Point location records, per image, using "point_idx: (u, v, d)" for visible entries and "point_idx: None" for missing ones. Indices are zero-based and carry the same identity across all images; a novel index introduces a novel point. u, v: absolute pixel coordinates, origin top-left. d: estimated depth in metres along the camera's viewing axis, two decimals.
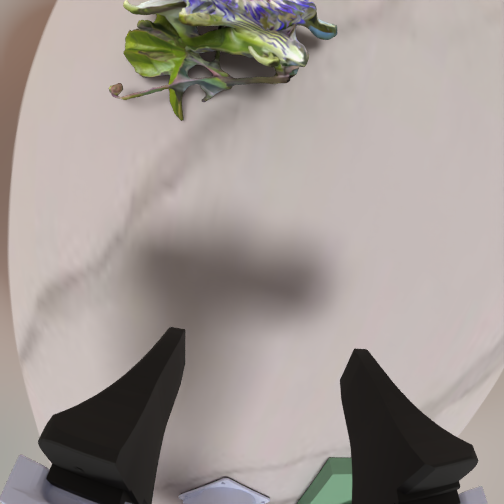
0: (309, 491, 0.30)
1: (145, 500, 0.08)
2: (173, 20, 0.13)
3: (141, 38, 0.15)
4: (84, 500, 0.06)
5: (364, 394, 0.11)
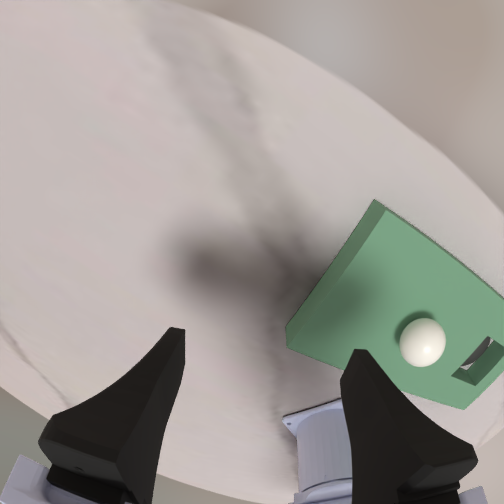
0: None
1: (145, 500, 0.08)
2: None
3: None
4: (84, 500, 0.06)
5: (364, 394, 0.11)
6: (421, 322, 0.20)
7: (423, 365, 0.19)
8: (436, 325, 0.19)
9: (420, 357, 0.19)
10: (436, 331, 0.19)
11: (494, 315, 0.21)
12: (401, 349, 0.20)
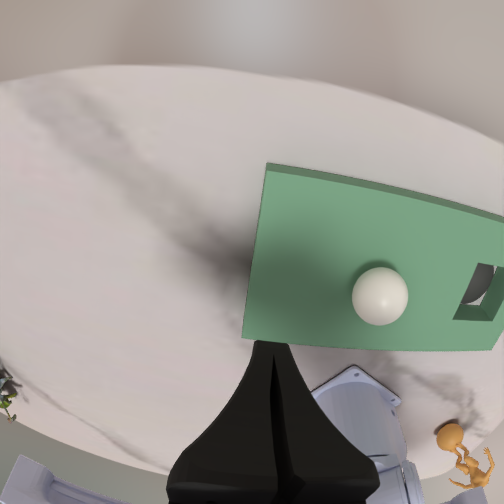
0: None
1: None
2: None
3: None
4: None
5: (273, 390, 0.11)
6: (366, 275, 0.18)
7: (385, 322, 0.18)
8: (385, 273, 0.18)
9: (374, 315, 0.17)
10: (384, 281, 0.17)
11: (475, 237, 0.18)
12: (355, 310, 0.19)
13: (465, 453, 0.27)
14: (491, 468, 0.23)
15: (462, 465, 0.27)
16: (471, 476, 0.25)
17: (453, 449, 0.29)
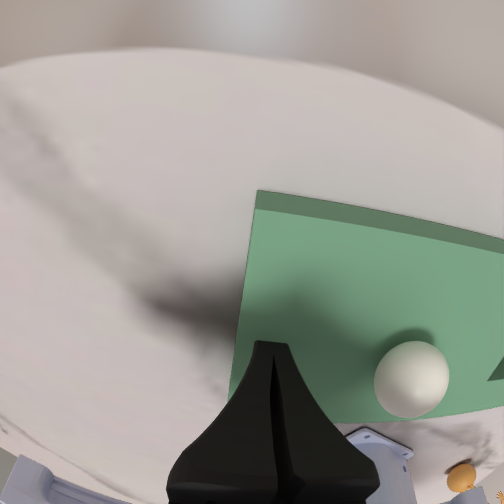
0: None
1: None
2: None
3: None
4: None
5: (273, 390, 0.11)
6: (397, 357, 0.12)
7: (416, 416, 0.11)
8: (423, 355, 0.11)
9: (403, 412, 0.11)
10: (423, 368, 0.11)
11: None
12: (377, 398, 0.13)
13: None
14: None
15: None
16: None
17: (464, 491, 0.23)
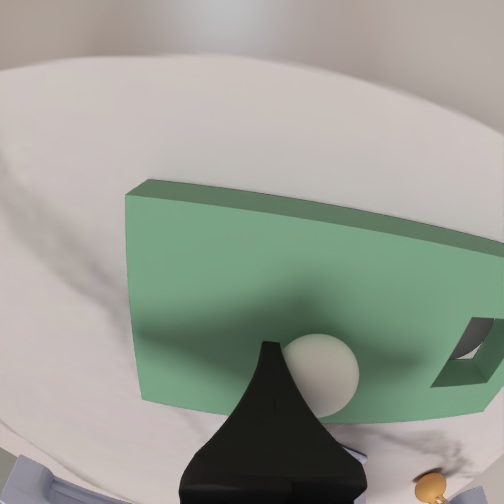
0: None
1: None
2: None
3: None
4: None
5: None
6: (291, 352, 0.12)
7: (325, 416, 0.11)
8: (320, 349, 0.11)
9: None
10: (319, 363, 0.11)
11: (470, 283, 0.12)
12: None
13: None
14: None
15: None
16: None
17: (433, 501, 0.23)
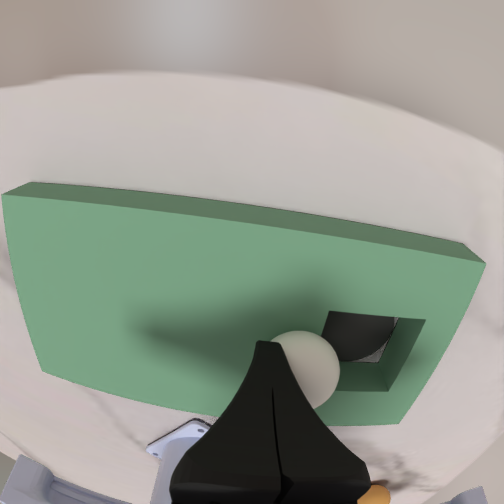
0: None
1: None
2: None
3: None
4: None
5: None
6: None
7: None
8: (311, 340, 0.12)
9: None
10: (300, 334, 0.13)
11: (310, 269, 0.13)
12: None
13: None
14: None
15: None
16: None
17: None
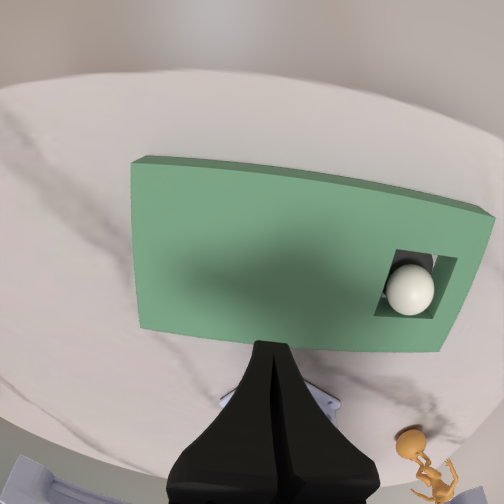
0: None
1: None
2: None
3: None
4: None
5: (273, 390, 0.11)
6: (408, 268, 0.20)
7: (416, 312, 0.19)
8: (423, 269, 0.20)
9: (413, 304, 0.19)
10: (425, 275, 0.19)
11: (385, 218, 0.18)
12: (391, 299, 0.20)
13: (426, 463, 0.27)
14: (454, 482, 0.22)
15: (423, 476, 0.26)
16: (433, 489, 0.24)
17: (414, 458, 0.29)
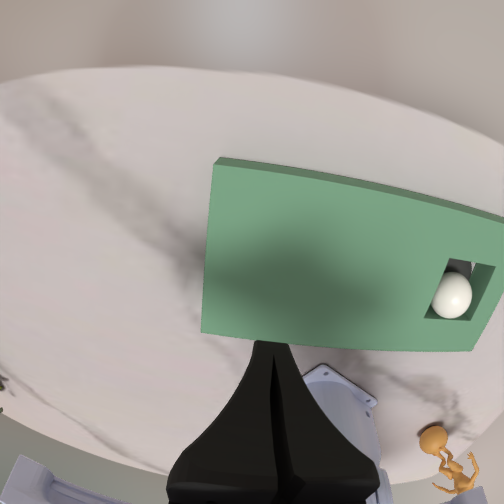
0: None
1: None
2: None
3: None
4: None
5: (273, 390, 0.11)
6: (451, 275, 0.20)
7: (453, 316, 0.20)
8: (464, 278, 0.20)
9: (452, 308, 0.20)
10: (465, 284, 0.20)
11: (444, 230, 0.18)
12: (433, 301, 0.21)
13: (449, 457, 0.27)
14: (475, 474, 0.23)
15: (445, 469, 0.27)
16: (455, 481, 0.25)
17: (436, 452, 0.29)
